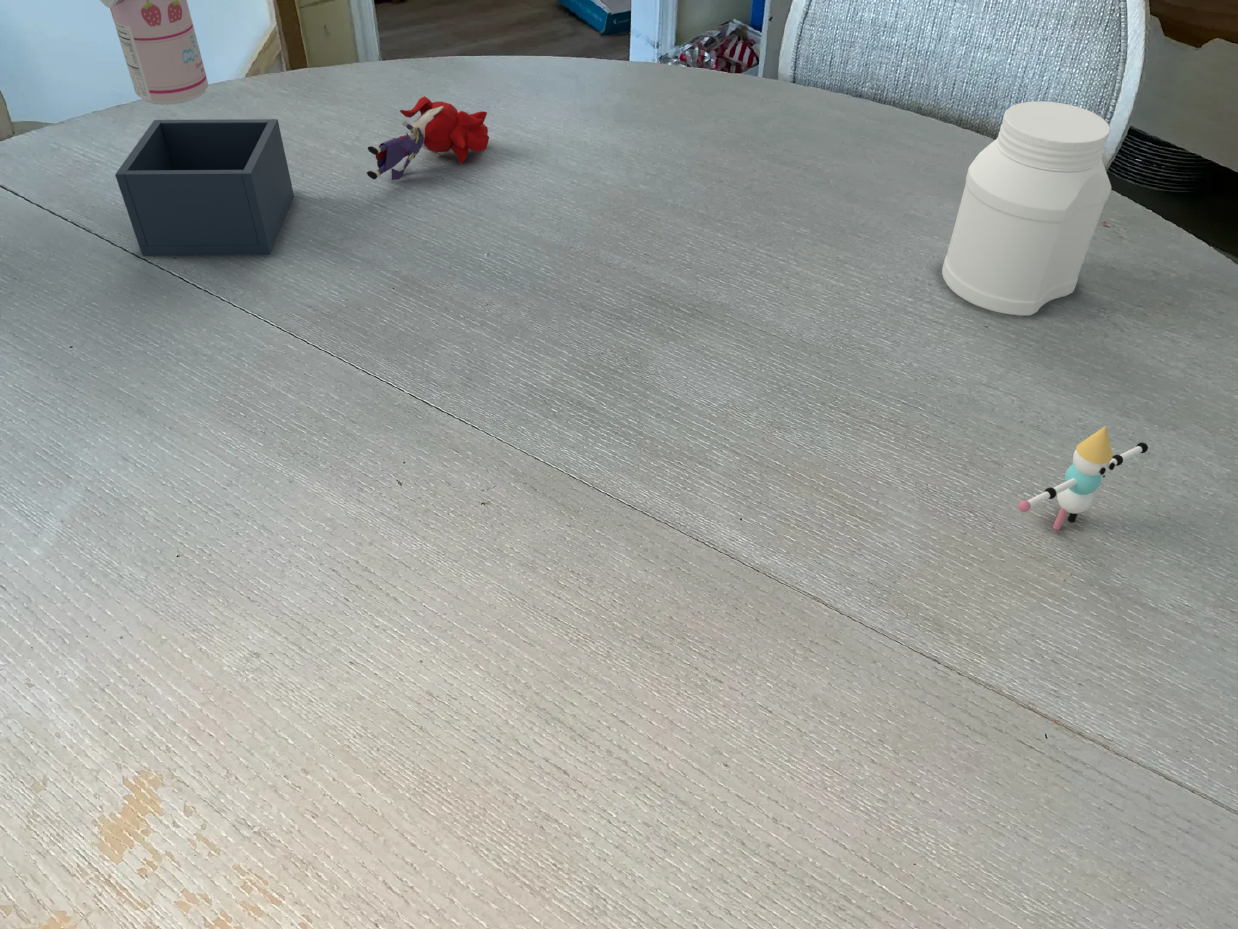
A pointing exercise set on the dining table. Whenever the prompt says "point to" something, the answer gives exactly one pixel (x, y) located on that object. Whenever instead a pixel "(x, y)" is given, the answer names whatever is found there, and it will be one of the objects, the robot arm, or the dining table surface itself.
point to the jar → (1029, 209)
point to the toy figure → (1083, 476)
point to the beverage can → (160, 50)
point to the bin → (207, 187)
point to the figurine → (432, 136)
